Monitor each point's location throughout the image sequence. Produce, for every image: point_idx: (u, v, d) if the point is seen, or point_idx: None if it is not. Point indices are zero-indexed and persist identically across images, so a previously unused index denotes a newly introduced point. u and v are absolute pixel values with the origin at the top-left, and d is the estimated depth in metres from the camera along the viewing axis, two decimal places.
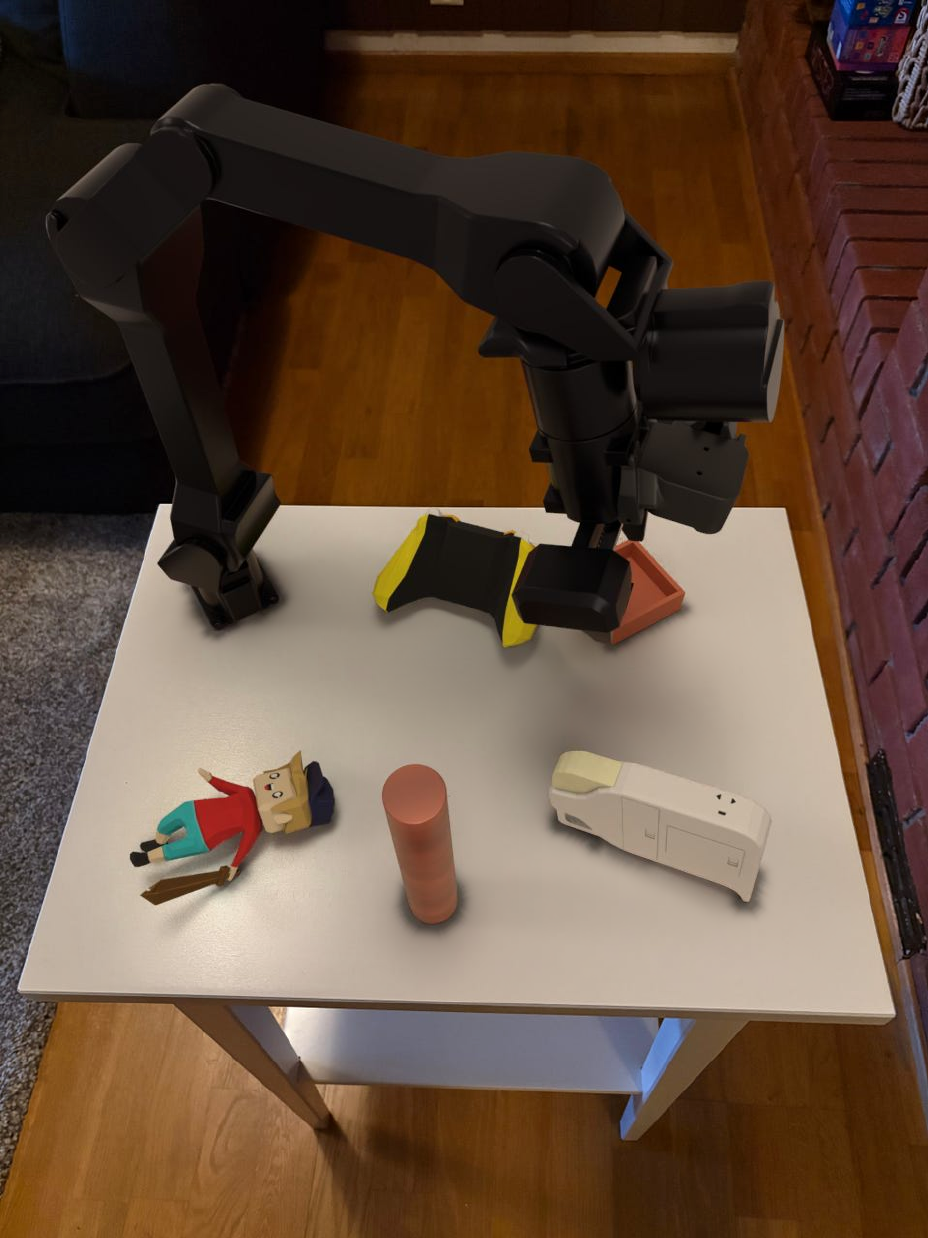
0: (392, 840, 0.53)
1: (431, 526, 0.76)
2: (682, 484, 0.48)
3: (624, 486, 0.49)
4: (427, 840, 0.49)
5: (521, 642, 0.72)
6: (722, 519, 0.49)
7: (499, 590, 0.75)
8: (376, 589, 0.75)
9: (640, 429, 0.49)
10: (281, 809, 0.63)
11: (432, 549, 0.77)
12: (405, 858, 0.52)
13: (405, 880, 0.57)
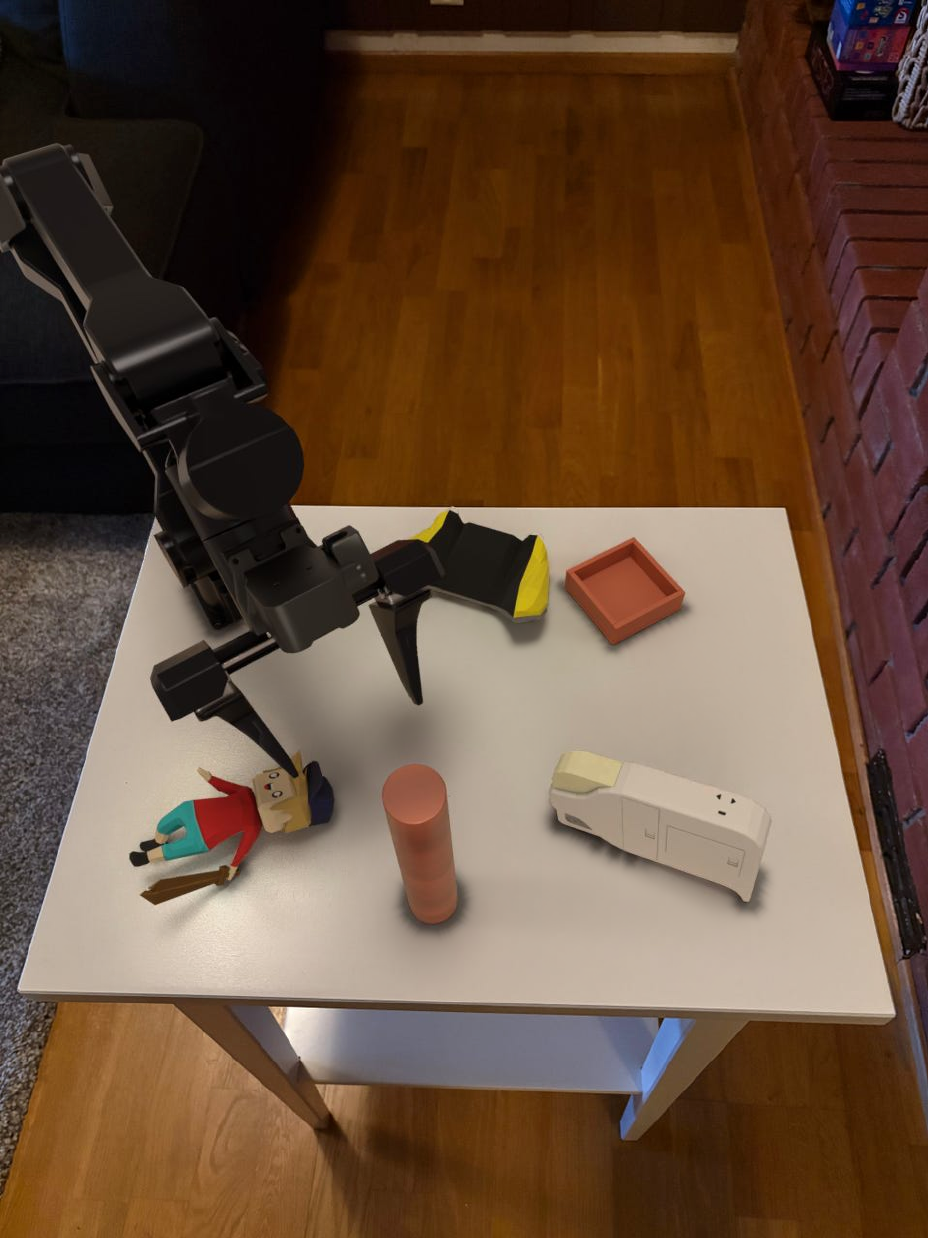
0: (392, 840, 0.53)
1: (449, 521, 0.80)
2: (252, 590, 0.48)
3: (235, 590, 0.50)
4: (427, 840, 0.49)
5: (532, 613, 0.73)
6: (282, 635, 0.46)
7: (508, 582, 0.77)
8: None
9: (272, 544, 0.51)
10: (281, 809, 0.63)
11: (445, 543, 0.79)
12: (405, 858, 0.52)
13: (405, 880, 0.57)
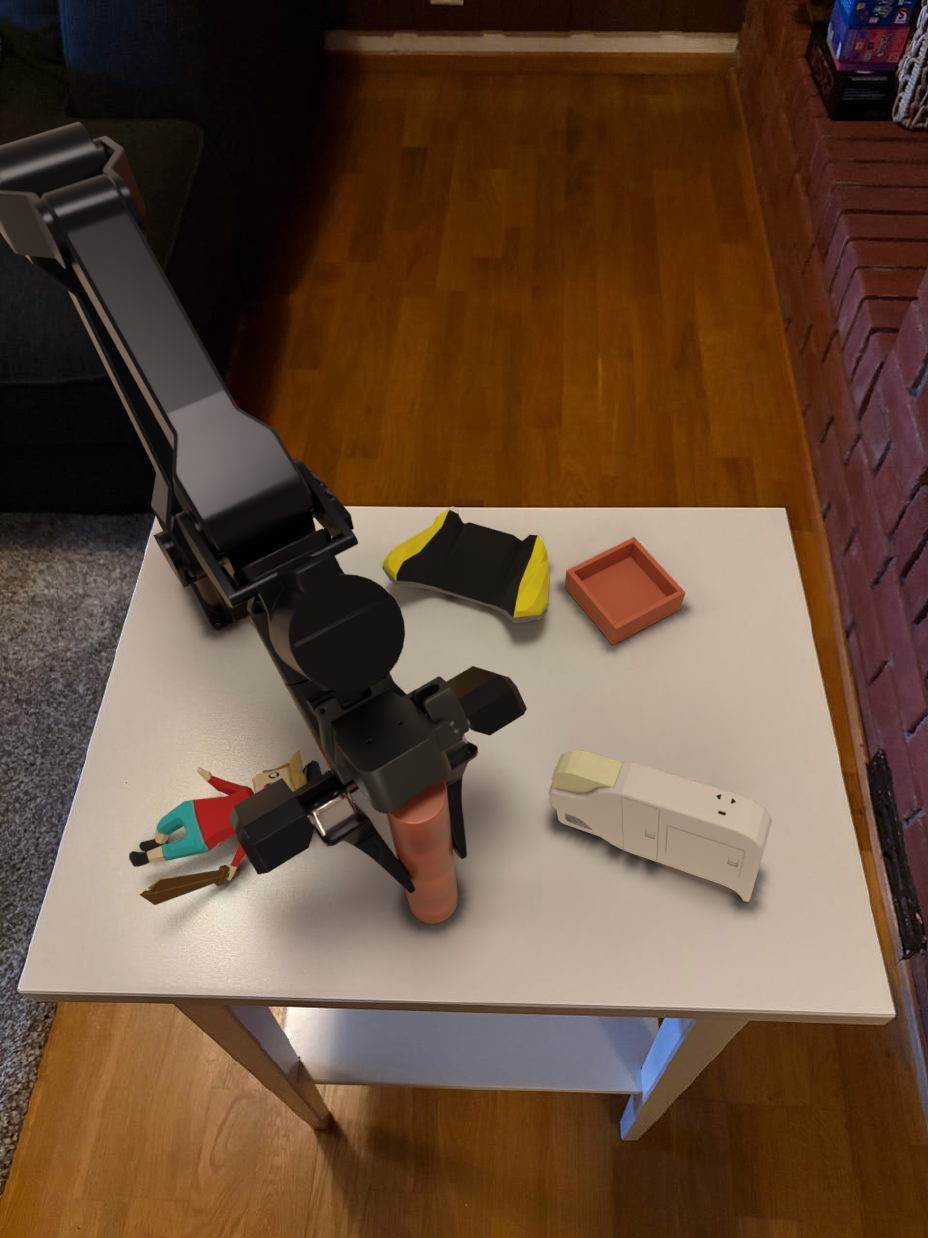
0: None
1: (449, 521, 0.80)
2: (343, 747, 0.47)
3: (321, 738, 0.49)
4: (427, 840, 0.49)
5: (532, 613, 0.73)
6: (376, 797, 0.46)
7: (508, 582, 0.77)
8: (390, 554, 0.76)
9: (358, 690, 0.50)
10: None
11: (445, 543, 0.79)
12: (405, 858, 0.52)
13: None
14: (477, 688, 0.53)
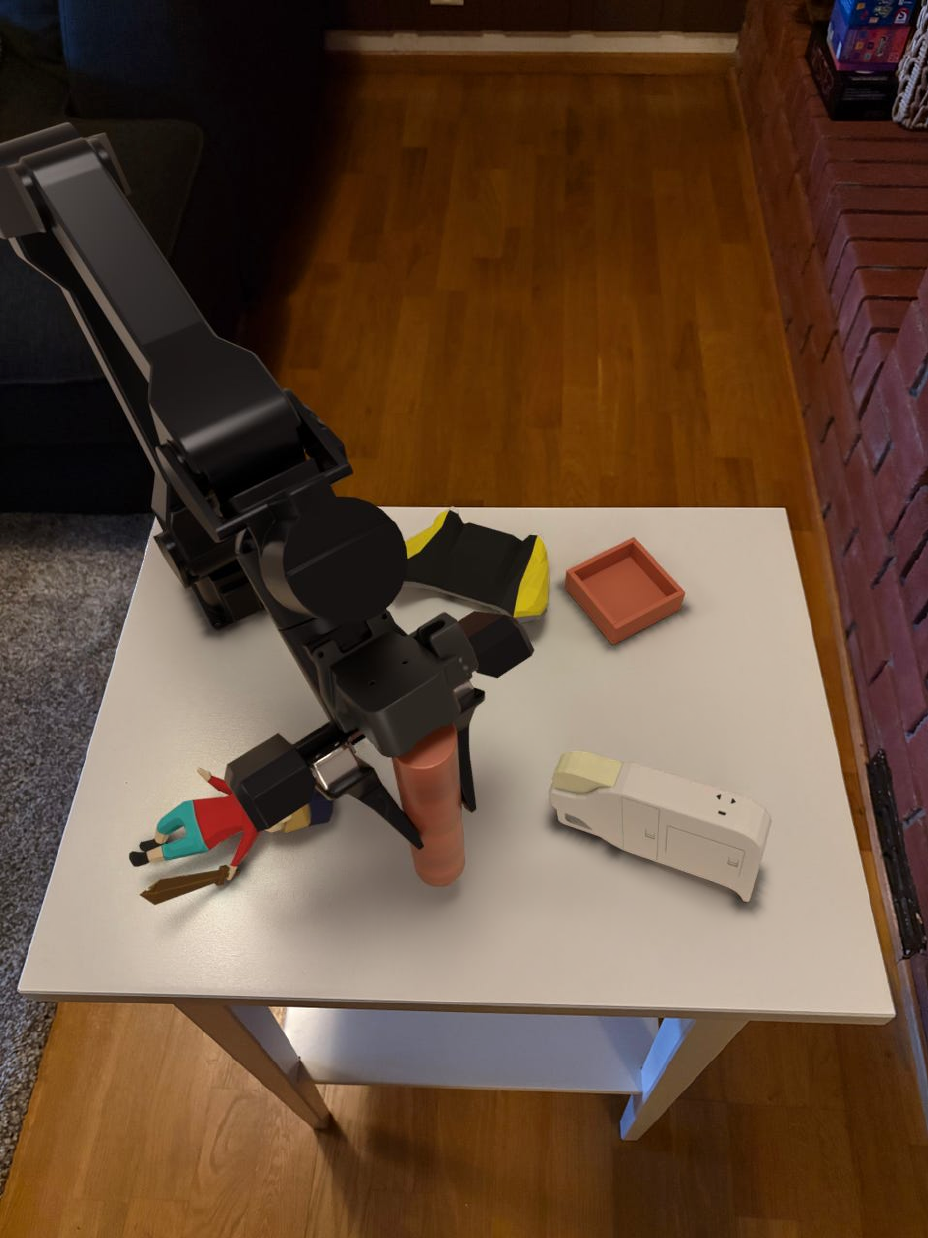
0: None
1: (449, 521, 0.80)
2: (345, 690, 0.44)
3: (320, 684, 0.46)
4: (438, 788, 0.46)
5: (532, 613, 0.73)
6: (383, 740, 0.43)
7: (508, 582, 0.77)
8: None
9: (358, 632, 0.47)
10: None
11: (445, 543, 0.79)
12: (413, 811, 0.49)
13: None
14: (482, 629, 0.50)
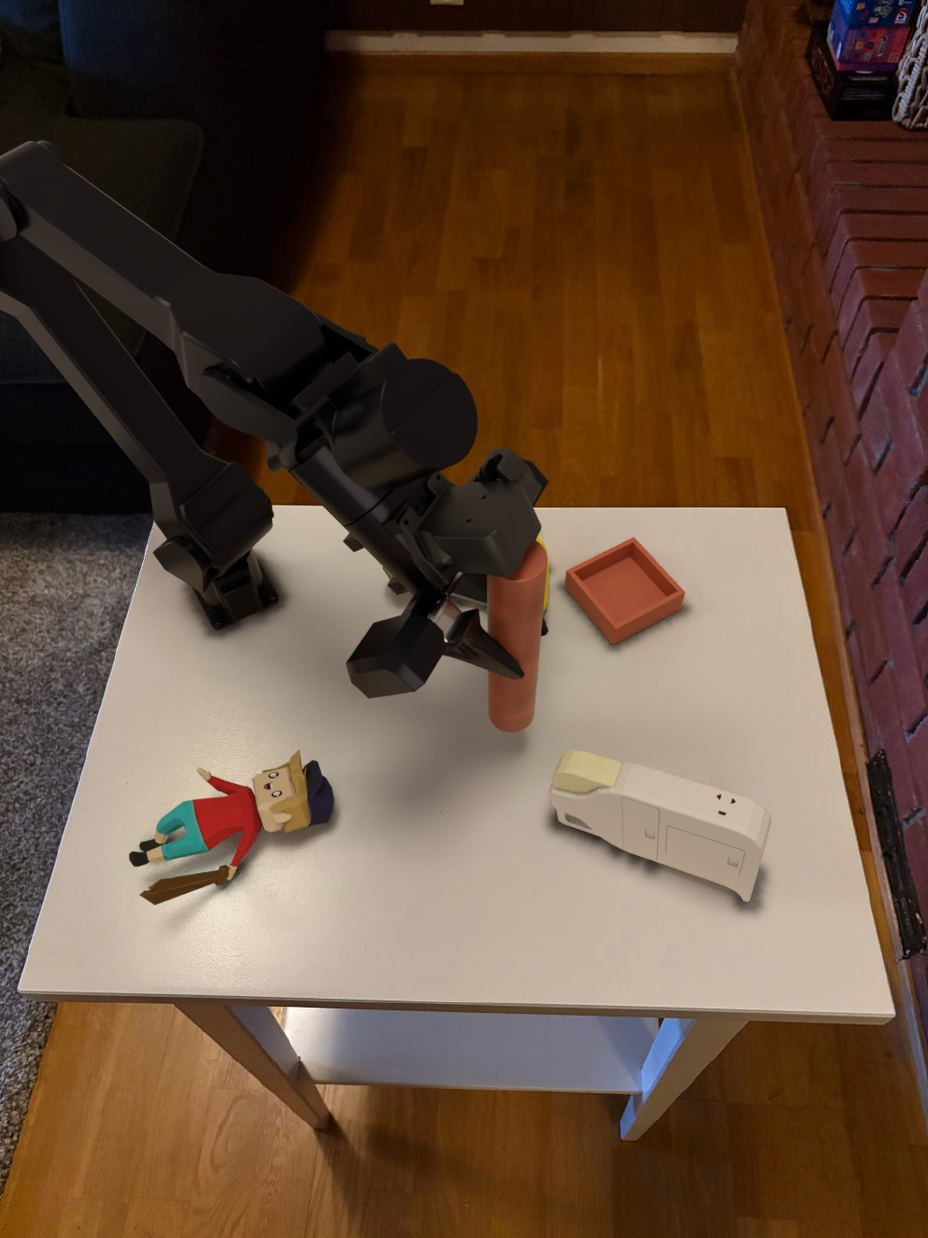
0: (495, 630, 0.56)
1: None
2: (449, 535, 0.49)
3: (412, 551, 0.51)
4: (539, 600, 0.53)
5: None
6: (502, 558, 0.49)
7: None
8: None
9: (423, 497, 0.52)
10: (280, 808, 0.63)
11: None
12: (515, 638, 0.56)
13: (505, 679, 0.60)
14: None
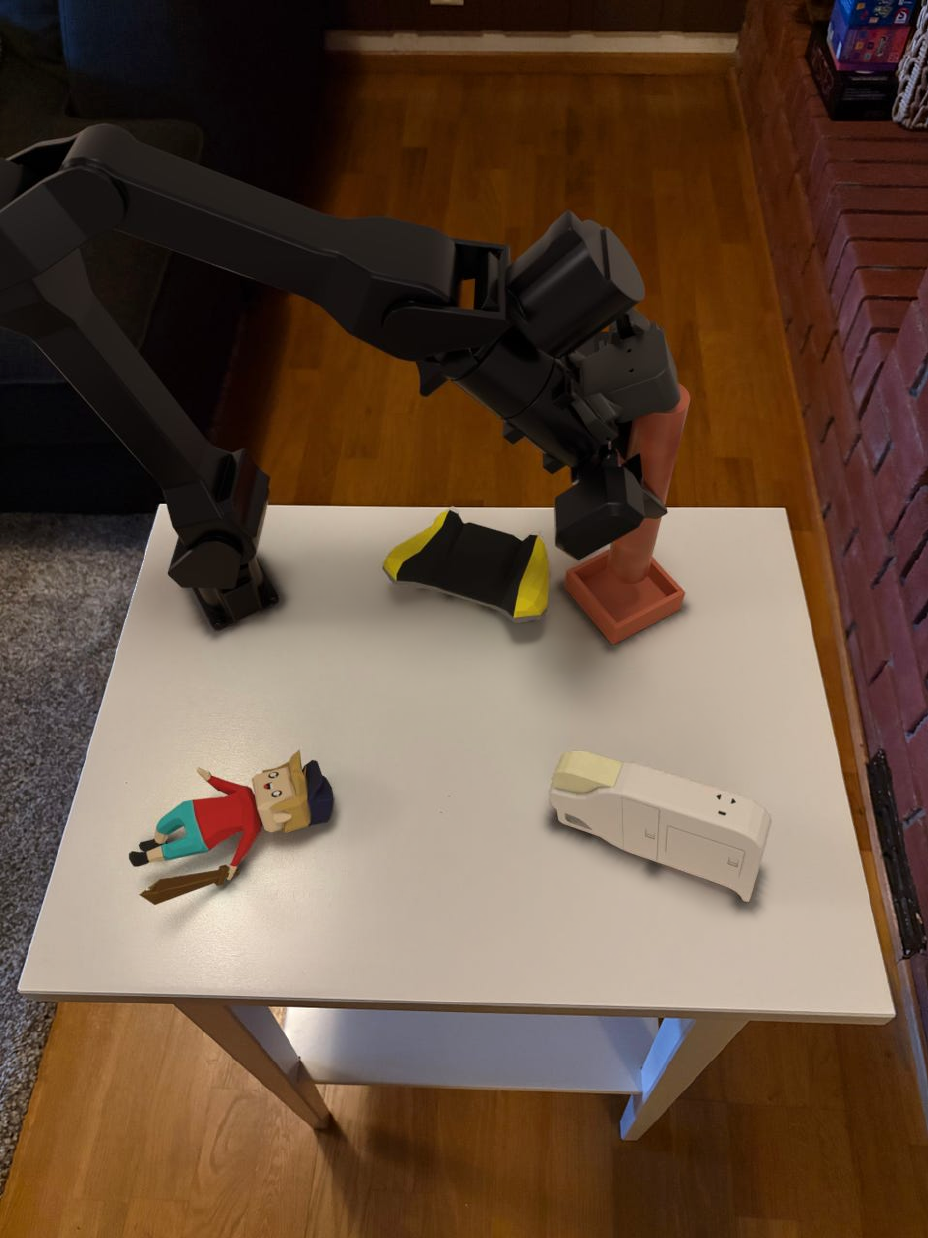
0: (645, 474, 0.63)
1: (449, 521, 0.80)
2: (622, 386, 0.56)
3: (584, 416, 0.58)
4: (682, 430, 0.62)
5: (532, 613, 0.73)
6: (672, 391, 0.57)
7: (508, 582, 0.77)
8: (390, 554, 0.76)
9: (572, 370, 0.58)
10: (280, 808, 0.63)
11: (445, 543, 0.79)
12: (662, 475, 0.64)
13: (645, 523, 0.68)
14: (595, 345, 0.65)
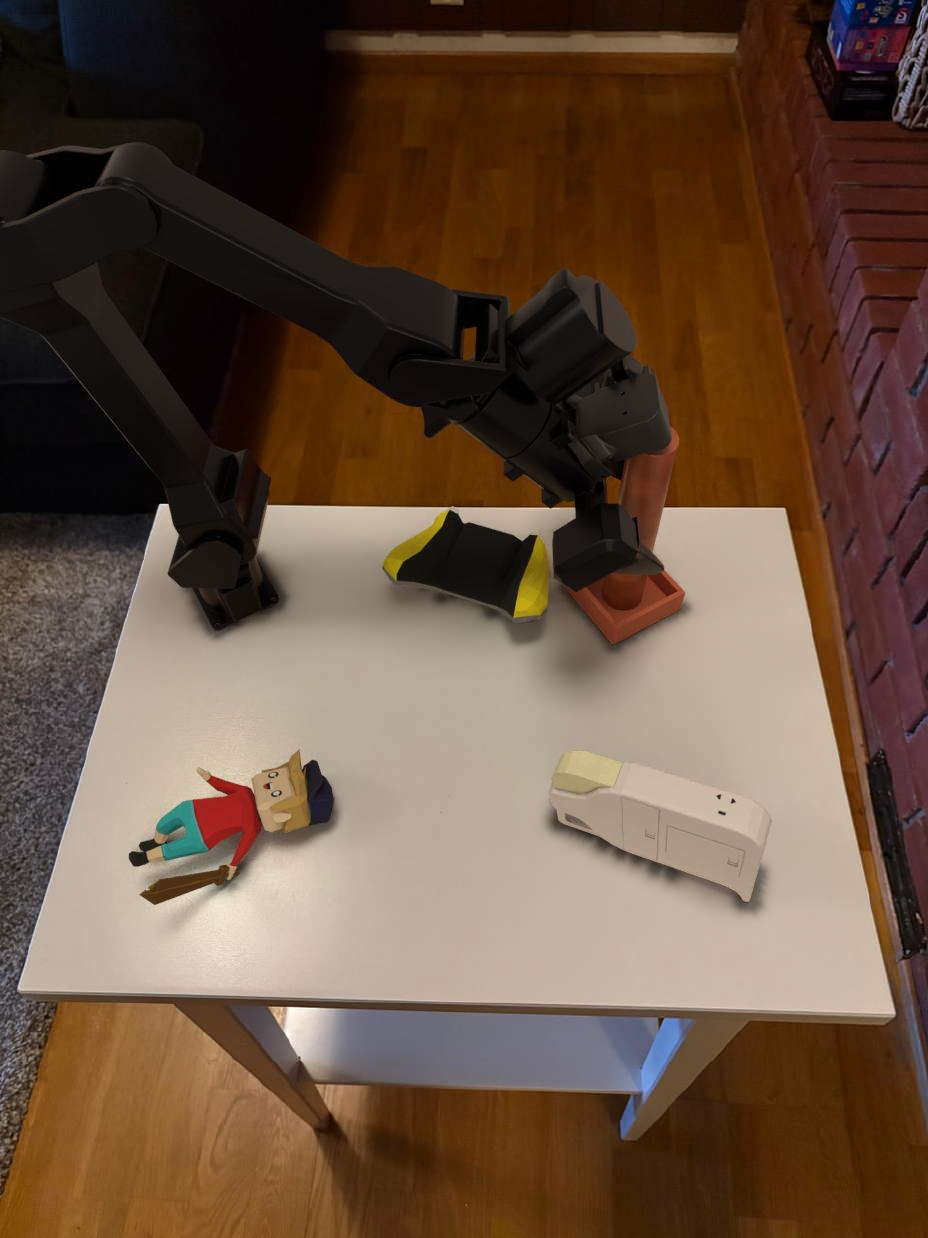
0: (637, 510, 0.67)
1: (449, 521, 0.80)
2: (616, 428, 0.59)
3: (580, 455, 0.61)
4: (672, 469, 0.65)
5: (532, 613, 0.73)
6: (663, 432, 0.60)
7: (508, 582, 0.77)
8: (390, 554, 0.76)
9: (568, 411, 0.62)
10: (280, 808, 0.63)
11: (445, 543, 0.79)
12: (654, 511, 0.67)
13: None
14: (591, 384, 0.68)
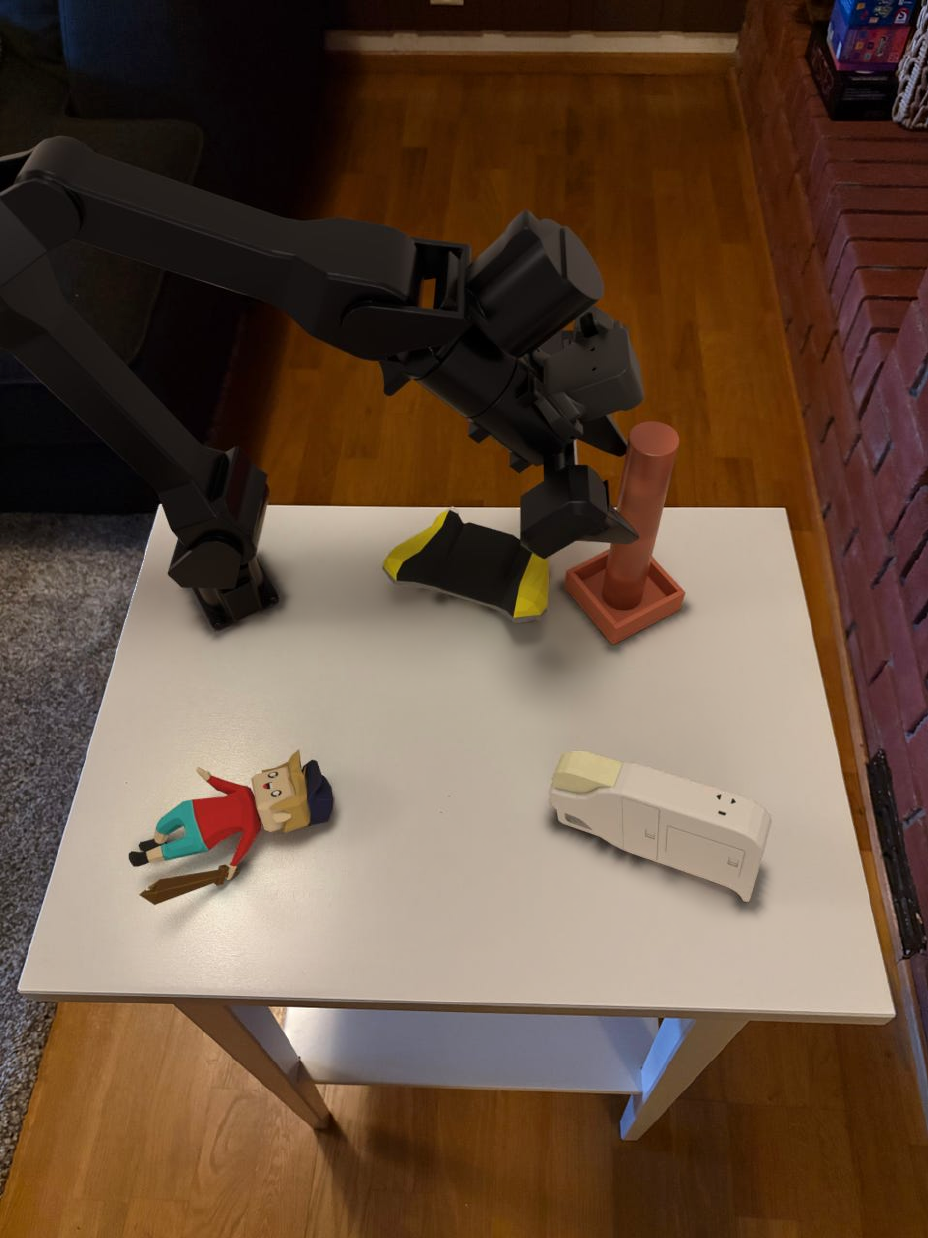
0: (637, 510, 0.67)
1: (449, 521, 0.80)
2: (584, 385, 0.56)
3: (547, 414, 0.58)
4: (672, 469, 0.65)
5: (532, 613, 0.73)
6: (634, 389, 0.57)
7: (508, 582, 0.77)
8: (390, 555, 0.76)
9: (536, 369, 0.59)
10: (280, 808, 0.63)
11: (445, 543, 0.79)
12: (654, 511, 0.67)
13: (637, 555, 0.71)
14: (562, 344, 0.65)
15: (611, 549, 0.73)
